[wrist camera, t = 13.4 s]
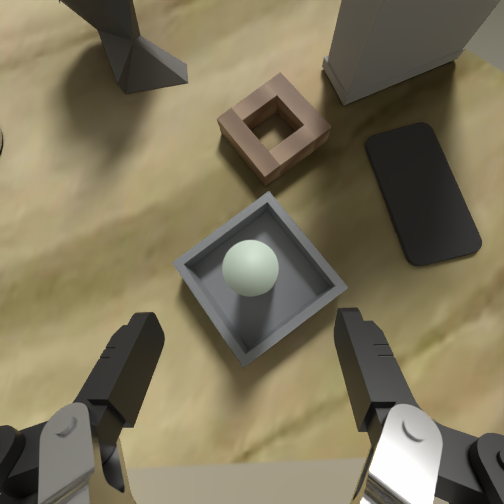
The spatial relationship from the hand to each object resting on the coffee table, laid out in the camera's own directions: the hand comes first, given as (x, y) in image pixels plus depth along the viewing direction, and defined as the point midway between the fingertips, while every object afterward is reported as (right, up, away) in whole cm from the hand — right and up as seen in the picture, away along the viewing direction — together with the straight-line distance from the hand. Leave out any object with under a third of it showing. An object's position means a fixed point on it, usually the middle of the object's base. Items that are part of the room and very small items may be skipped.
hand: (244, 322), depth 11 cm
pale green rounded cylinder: (+1, +1, +14) cm, 14 cm away
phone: (+18, +9, +16) cm, 26 cm away
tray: (+1, 0, +15) cm, 15 cm away
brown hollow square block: (+3, +16, +18) cm, 24 cm away
